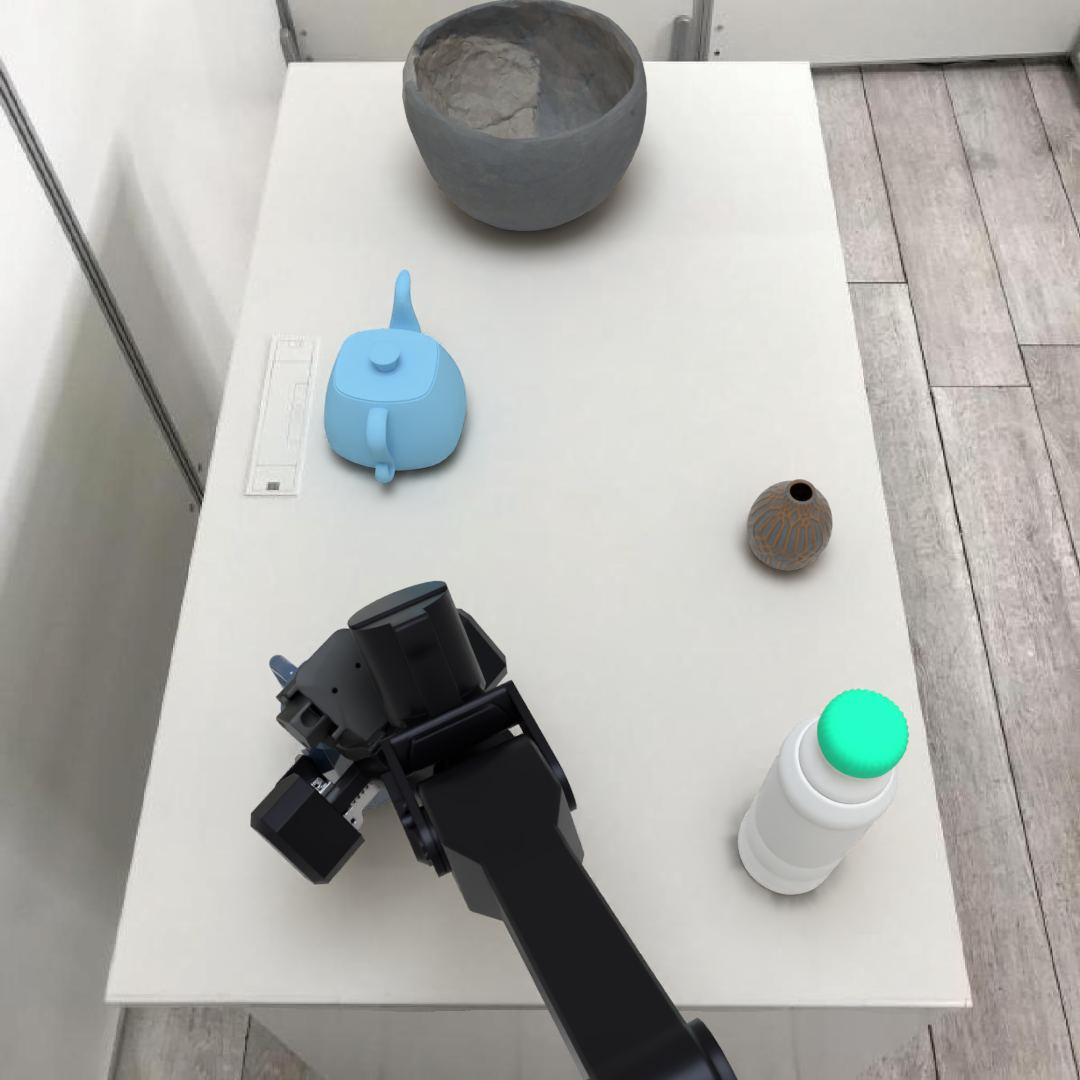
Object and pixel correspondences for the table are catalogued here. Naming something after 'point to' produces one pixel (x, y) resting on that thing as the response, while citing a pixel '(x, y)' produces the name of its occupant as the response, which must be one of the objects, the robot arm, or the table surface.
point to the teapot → (394, 395)
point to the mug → (322, 755)
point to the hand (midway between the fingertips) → (336, 721)
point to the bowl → (525, 109)
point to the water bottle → (823, 791)
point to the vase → (789, 525)
